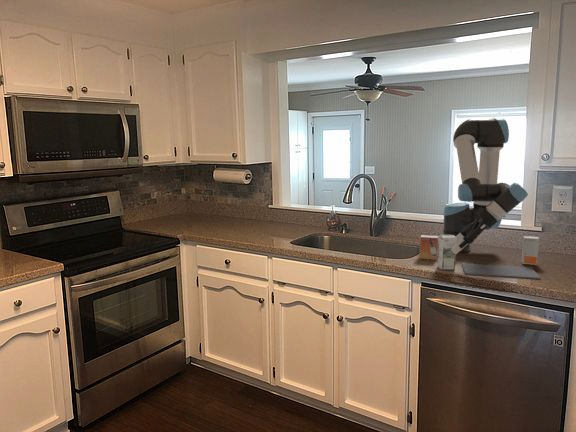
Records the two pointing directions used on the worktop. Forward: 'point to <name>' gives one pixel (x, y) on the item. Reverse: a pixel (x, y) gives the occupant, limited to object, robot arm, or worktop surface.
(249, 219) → the worktop surface
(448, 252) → the syrup box
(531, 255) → the skincare box
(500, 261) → the worktop surface
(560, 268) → the worktop surface
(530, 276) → the charcoal mat
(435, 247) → the small box
